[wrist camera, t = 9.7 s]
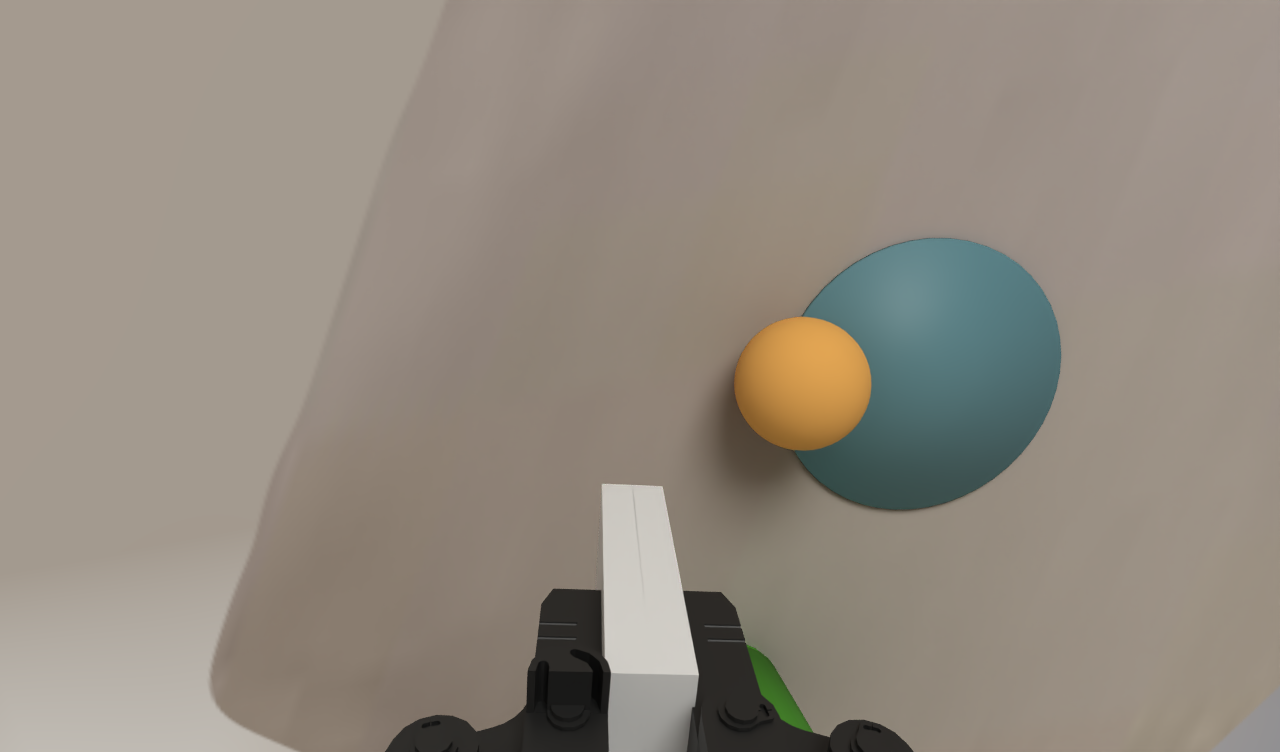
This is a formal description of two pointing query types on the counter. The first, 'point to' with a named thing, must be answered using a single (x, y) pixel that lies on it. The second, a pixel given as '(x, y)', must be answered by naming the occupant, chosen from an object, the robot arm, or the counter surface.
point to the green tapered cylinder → (776, 690)
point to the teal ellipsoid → (938, 371)
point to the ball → (802, 383)
